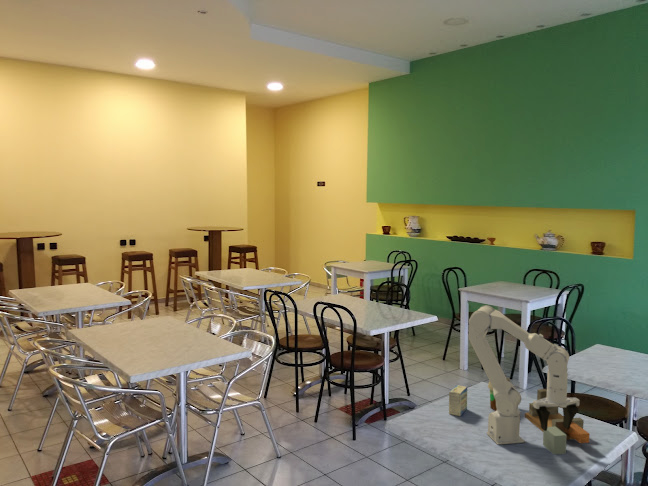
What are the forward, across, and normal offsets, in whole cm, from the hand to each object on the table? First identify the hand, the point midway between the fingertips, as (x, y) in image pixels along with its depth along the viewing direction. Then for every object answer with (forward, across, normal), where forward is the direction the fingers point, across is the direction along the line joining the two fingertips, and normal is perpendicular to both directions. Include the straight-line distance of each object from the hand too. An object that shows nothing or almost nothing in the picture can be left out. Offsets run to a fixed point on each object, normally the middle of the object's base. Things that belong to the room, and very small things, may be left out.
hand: (555, 428), depth 163 cm
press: (+7, +9, +14) cm, 18 cm away
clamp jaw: (+5, +9, +3) cm, 11 cm away
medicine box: (+7, -19, +31) cm, 37 cm away
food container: (+7, -3, +33) cm, 34 cm away
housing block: (+7, 0, 0) cm, 7 cm away
